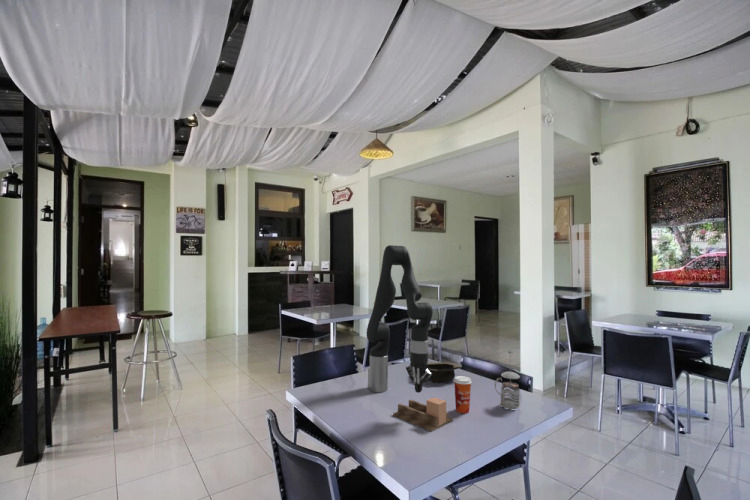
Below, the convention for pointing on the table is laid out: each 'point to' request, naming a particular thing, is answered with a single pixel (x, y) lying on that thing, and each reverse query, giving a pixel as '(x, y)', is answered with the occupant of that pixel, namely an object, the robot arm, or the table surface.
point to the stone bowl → (442, 371)
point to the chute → (419, 416)
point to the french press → (514, 400)
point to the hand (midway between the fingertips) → (418, 391)
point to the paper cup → (462, 393)
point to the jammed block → (437, 409)
